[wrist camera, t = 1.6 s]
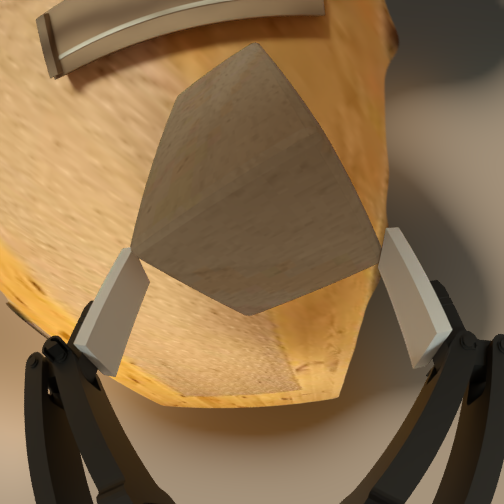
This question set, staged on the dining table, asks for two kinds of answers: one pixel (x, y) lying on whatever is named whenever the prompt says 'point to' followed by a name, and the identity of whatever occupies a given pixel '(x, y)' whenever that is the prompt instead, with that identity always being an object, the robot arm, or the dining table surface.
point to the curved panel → (141, 24)
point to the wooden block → (250, 193)
